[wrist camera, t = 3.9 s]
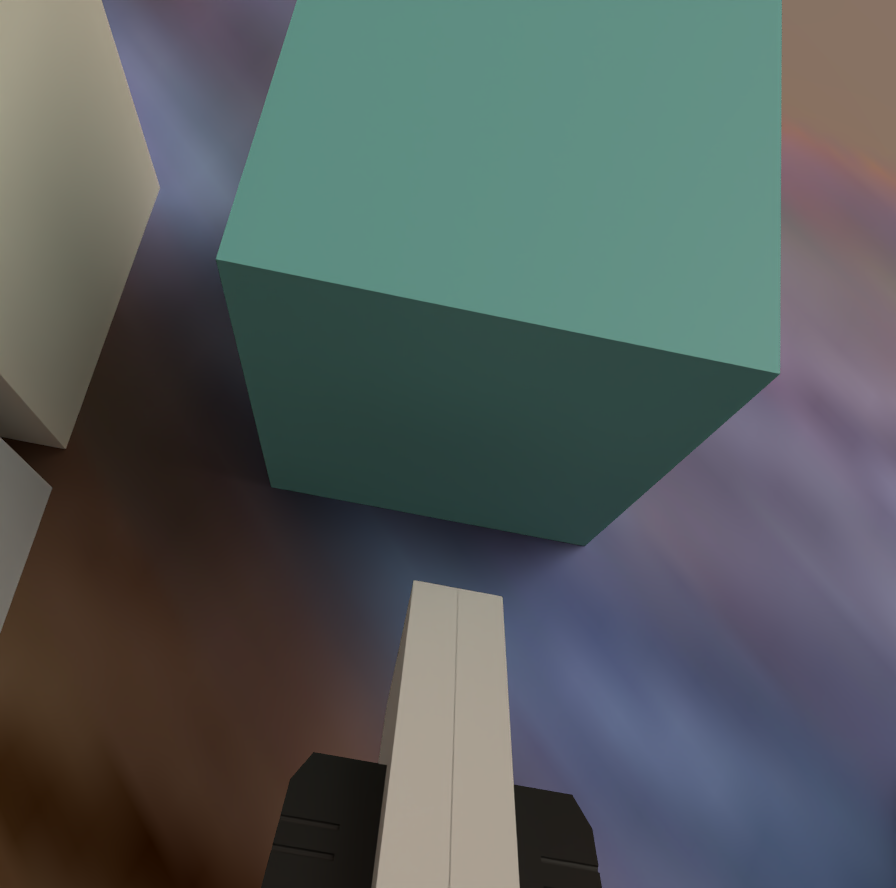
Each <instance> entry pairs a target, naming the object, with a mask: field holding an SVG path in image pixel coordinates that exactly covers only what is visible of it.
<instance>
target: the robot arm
mask: <svg viewBox="0 0 896 888" xmlns="http://www.w3.org/2000/svg"><path fill="white" fill-rule="evenodd" d="M261 888H602V886H601V880H600V873H598V861H597V855H596V849H595V843H594V837H593V831H592V828H591V826H590V824H589V823H588V821H587V819H586V817H585V816H584V814H583V812H582V811H581V809H580V807H579V806H578V804H577V802H576V801H575V799H574V797H573V795H570V794H564V793H559V792H553V791H547V790H541V789H536V788H530V787H524V786H518V785H514V784H513V767H512V750H511V733H510V717H509V700H508V683H507V666H506V649H505V632H504V616H503V599H502V597H501V596H496V595H491V594H485V593H480V592H475V591H469V590H464V589H458V588H453V587H448V586H442V585H437V584H432V583H426V582H421V581H415V580H414V581H413V586H412V591H411V595H410V600H409V605H408V609H407V614H406V619H405V623H404V628H403V633H402V637H401V642H400V647H399V651H398V656H397V661H396V665H395V670H394V675H393V679H392V684H391V689H390V693H389V698H388V703H387V707H386V713H385V720H384V728H383V735H382V742H381V749H380V756H379V763H373V762H367V761H361V760H355V759H350V758H344V757H338V756H332V755H327V754H321V753H315V752H313V754H312V755H311V756H310V757H309V758H308V759H307V760H306V762H305V763H304V764H303V765H302V766H301V767H300V769H299V770H298V771H297V772H296V773H295V774H294V775H293V777H292V778H291V779H290V782H289V786H288V789H287V793H286V797H285V801H284V804H283V808H282V812H281V816H280V820H279V823H278V827H277V830H276V834H275V838H274V842H273V846H272V850H271V853H270V857H269V860H268V864H267V868H266V871H265V875H264V879H263V883H262V886H261Z"/></svg>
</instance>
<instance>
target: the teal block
mask: <svg viewBox="0 0 896 888" xmlns="http://www.w3.org/2000/svg"><path fill="white" fill-rule="evenodd" d="M781 28H782V0H297V2H296V5H295V9H294V12H293V15H292V18H291V21H290V25H289V28H288V31H287V34H286V37H285V40H284V44H283V47H282V50H281V53H280V56H279V60H278V63H277V66H276V69H275V72H274V75H273V79H272V82H271V85H270V88H269V91H268V94H267V98H266V101H265V104H264V107H263V110H262V114H261V117H260V120H259V123H258V126H257V129H256V133H255V136H254V139H253V142H252V145H251V149H250V152H249V155H248V158H247V161H246V164H245V168H244V171H243V174H242V177H241V180H240V184H239V187H238V190H237V193H236V196H235V199H234V203H233V206H232V209H231V212H230V215H229V219H228V222H227V225H226V228H225V231H224V234H223V238H222V241H221V244H220V247H219V250H218V253H217V257H216V262H217V266H218V270H219V275H220V279H221V283H222V287H223V291H224V295H225V299H226V303H227V308H228V312H229V316H230V320H231V324H232V328H233V332H234V336H235V340H236V345H237V349H238V353H239V357H240V361H241V365H242V369H243V373H244V378H245V382H246V386H247V390H248V394H249V398H250V402H251V406H252V410H253V415H254V419H255V423H256V427H257V431H258V435H259V439H260V443H261V448H262V452H263V456H264V460H265V464H266V468H267V472H268V476H269V481H270V485H271V487H274V488H279V489H285V490H290V491H295V492H300V493H306V494H311V495H316V496H322V497H327V498H332V499H338V500H343V501H348V502H354V503H359V504H364V505H369V506H375V507H380V508H385V509H391V510H396V511H401V512H407V513H412V514H417V515H423V516H428V517H433V518H438V519H444V520H449V521H454V522H460V523H465V524H470V525H476V526H481V527H486V528H492V529H497V530H502V531H507V532H513V533H518V534H523V535H529V536H534V537H539V538H545V539H550V540H555V541H561V542H566V543H571V544H576V545H582V546H585V545H587V544H588V543H589V542H590V541H591V540H592V539H593V538H594V537H596V536H597V535H598V534H599V533H600V532H601V531H602V530H604V529H605V528H606V527H607V526H608V525H609V524H610V523H611V522H613V521H614V520H615V519H616V518H617V517H618V516H619V515H621V514H622V513H623V512H624V511H625V510H626V509H627V508H628V507H630V506H631V505H632V504H633V503H634V502H635V501H636V500H638V499H639V498H640V497H641V496H642V495H643V494H644V493H645V492H647V491H648V490H649V489H650V488H651V487H652V486H653V485H655V484H656V483H657V482H658V481H659V480H660V479H661V478H662V477H664V476H665V475H666V474H667V473H668V472H669V471H670V470H672V469H673V468H674V467H675V466H676V465H677V464H678V463H679V462H681V461H682V460H683V459H684V458H685V457H686V456H687V455H689V454H690V453H691V452H692V451H693V450H694V449H695V448H696V447H698V446H699V445H700V444H701V443H702V442H703V441H704V440H706V439H707V438H708V437H709V436H710V435H711V434H712V433H714V432H715V431H716V430H717V429H718V428H719V427H720V426H721V425H723V424H724V423H725V422H726V421H727V420H728V419H729V418H731V417H732V416H733V415H734V414H735V413H736V412H737V411H738V410H740V409H741V408H742V407H743V406H744V405H745V404H746V403H748V402H749V401H750V400H751V399H752V398H753V397H754V396H755V395H757V394H758V393H759V392H760V391H761V390H762V389H763V388H765V387H766V386H767V385H768V384H769V383H770V382H771V381H772V380H774V379H775V378H776V377H777V376H778V375H779V374H780V266H781V49H782V46H781V45H782V41H781V40H782V29H781Z"/></svg>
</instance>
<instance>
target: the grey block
mask: <svg viewBox="0 0 896 888" xmlns="http://www.w3.org/2000/svg"><path fill="white" fill-rule="evenodd" d="M51 490H52V487H51V486H50V485H49V484H48V483H47V482H46V481H45V480H44V479H43V478H42V477H41V476H40V475H39V474H38V473H37V472H36V471H35V470H34V469H32V468H31V467H30V466H29V465H28V464H27V463H26V462H25V461H24V460H23V459H22V458H21V457H20V456H19V455H18V454H17V453H16V452H15V451H14V450H13V449H12V448H11V447H10V446H9V445H8V444H7V443H6V442H5V441H4V440H3V439H2V438H0V632H1V629H2V627H3V624H4V621H5V618H6V615H7V613H8V610H9V607H10V604H11V602H12V599H13V596H14V593H15V590H16V588H17V585H18V582H19V579H20V576H21V574H22V571H23V568H24V565H25V563H26V560H27V557H28V554H29V551H30V549H31V546H32V543H33V540H34V537H35V535H36V532H37V529H38V526H39V524H40V521H41V518H42V515H43V512H44V510H45V507H46V504H47V501H48V499H49V496H50V493H51Z"/></svg>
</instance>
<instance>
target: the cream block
mask: <svg viewBox="0 0 896 888" xmlns="http://www.w3.org/2000/svg"><path fill="white" fill-rule="evenodd" d="M159 189H160V186H159V183H158V180H157V177H156V174H155V170H154V167H153V164H152V161H151V158H150V154H149V151H148V148H147V145H146V141H145V138H144V135H143V132H142V129H141V125H140V122H139V119H138V116H137V113H136V109H135V106H134V103H133V100H132V97H131V93H130V90H129V87H128V84H127V81H126V77H125V74H124V71H123V68H122V65H121V61H120V58H119V55H118V52H117V49H116V45H115V42H114V39H113V36H112V33H111V29H110V26H109V23H108V20H107V16H106V13H105V10H104V7H103V4H102V0H0V437H3V438H9V439H14V440H19V441H25V442H30V443H35V444H41V445H46V446H51V447H56V448H62V449H66V447H67V445H68V442H69V439H70V436H71V434H72V431H73V428H74V425H75V422H76V420H77V417H78V414H79V411H80V409H81V406H82V403H83V400H84V397H85V395H86V392H87V389H88V386H89V384H90V381H91V378H92V375H93V372H94V370H95V367H96V364H97V361H98V359H99V356H100V353H101V350H102V347H103V345H104V342H105V339H106V336H107V334H108V331H109V328H110V325H111V322H112V320H113V317H114V314H115V311H116V309H117V306H118V303H119V300H120V297H121V295H122V292H123V289H124V286H125V284H126V281H127V278H128V275H129V272H130V270H131V267H132V264H133V261H134V259H135V256H136V253H137V250H138V247H139V245H140V242H141V239H142V236H143V234H144V231H145V228H146V225H147V222H148V220H149V217H150V214H151V211H152V209H153V206H154V203H155V200H156V197H157V195H158V192H159Z"/></svg>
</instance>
